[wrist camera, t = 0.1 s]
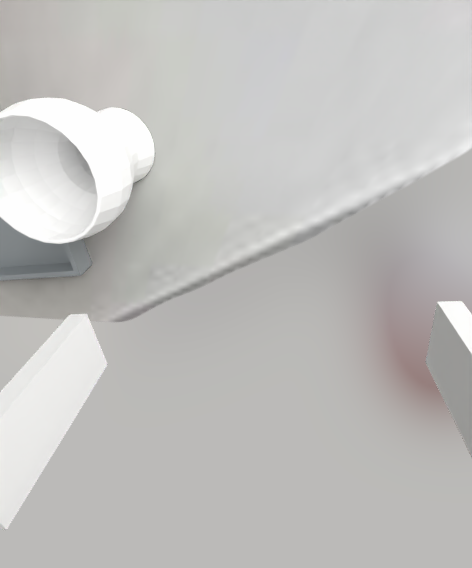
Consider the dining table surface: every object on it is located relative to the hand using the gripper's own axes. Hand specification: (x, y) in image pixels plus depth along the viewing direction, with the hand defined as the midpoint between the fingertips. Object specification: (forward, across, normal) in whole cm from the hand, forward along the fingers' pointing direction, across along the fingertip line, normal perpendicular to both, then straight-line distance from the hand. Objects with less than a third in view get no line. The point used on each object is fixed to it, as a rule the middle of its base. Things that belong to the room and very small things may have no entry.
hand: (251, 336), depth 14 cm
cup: (+28, -16, +4) cm, 33 cm away
